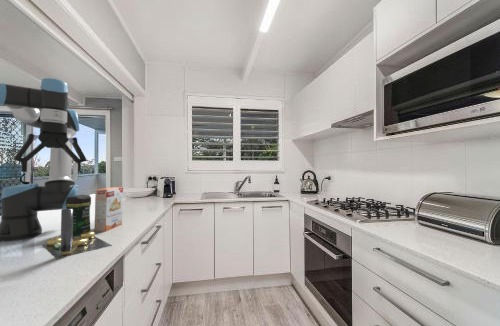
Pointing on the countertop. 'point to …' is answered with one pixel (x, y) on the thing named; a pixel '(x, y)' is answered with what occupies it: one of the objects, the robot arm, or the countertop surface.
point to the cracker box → (108, 208)
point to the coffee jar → (80, 213)
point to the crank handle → (69, 233)
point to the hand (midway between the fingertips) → (52, 180)
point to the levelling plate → (93, 244)
